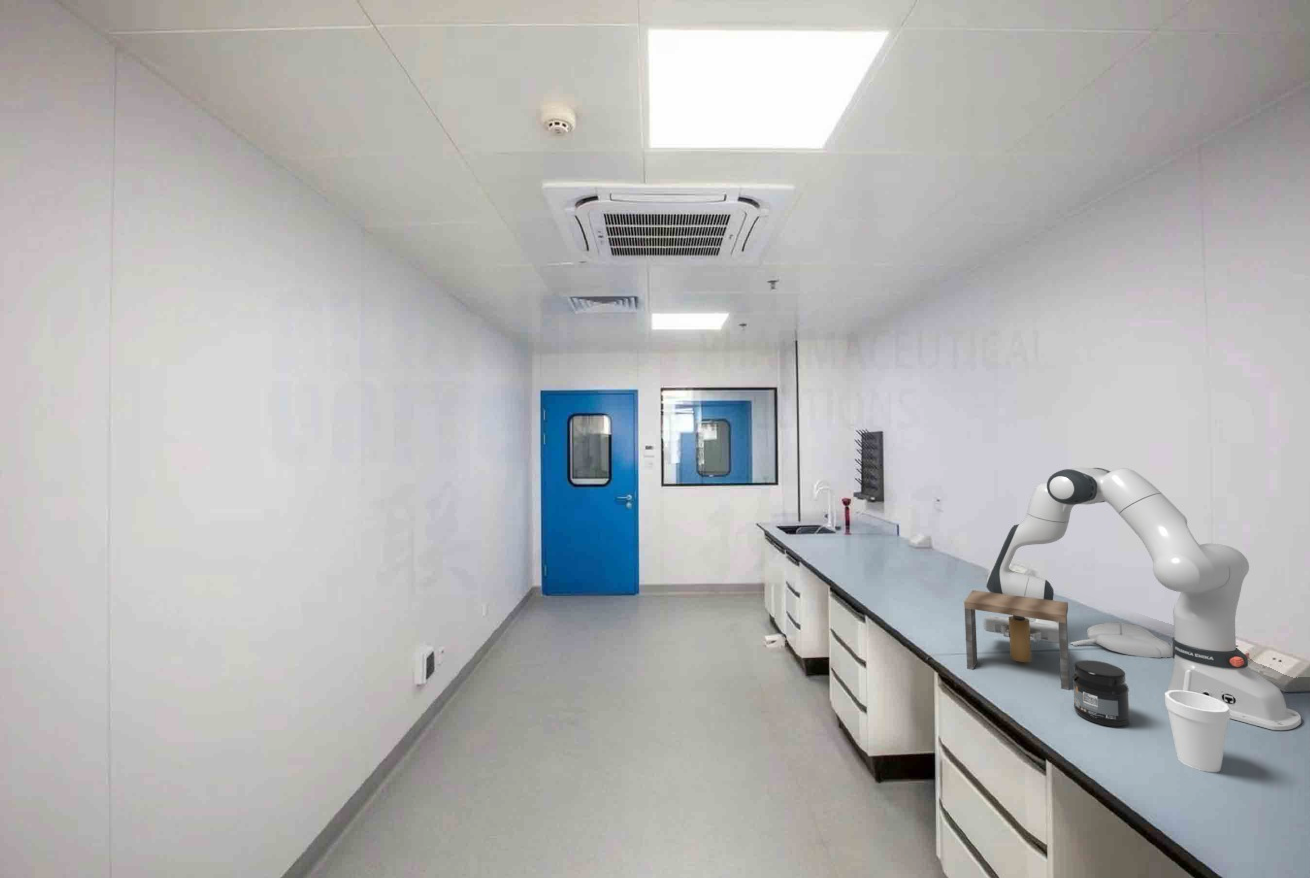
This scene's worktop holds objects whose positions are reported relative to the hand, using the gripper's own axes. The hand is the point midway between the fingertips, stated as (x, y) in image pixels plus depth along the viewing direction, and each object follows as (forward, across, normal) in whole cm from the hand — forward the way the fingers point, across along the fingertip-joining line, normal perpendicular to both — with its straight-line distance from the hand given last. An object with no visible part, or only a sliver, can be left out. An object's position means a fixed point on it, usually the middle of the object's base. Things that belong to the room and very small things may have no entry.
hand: (1019, 636), depth 161 cm
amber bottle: (-1, 0, +7) cm, 7 cm away
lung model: (-31, +22, +9) cm, 39 cm away
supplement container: (+24, +19, +9) cm, 32 cm away
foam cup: (+36, +34, +9) cm, 50 cm away
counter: (+5, 0, +8) cm, 10 cm away
